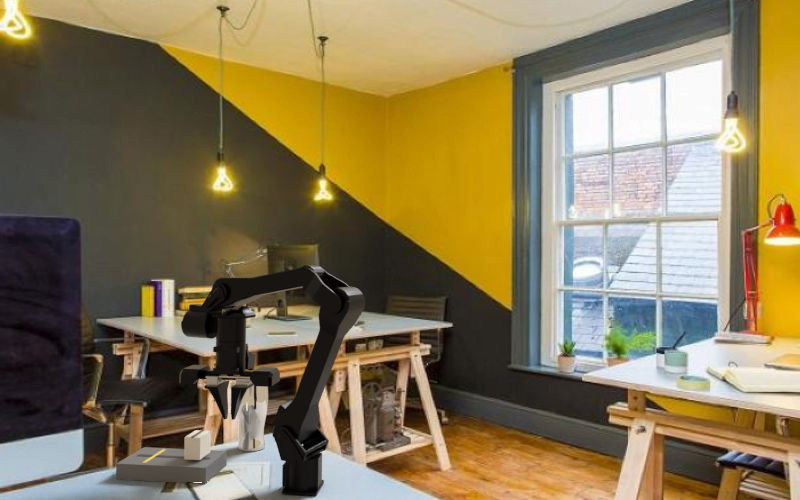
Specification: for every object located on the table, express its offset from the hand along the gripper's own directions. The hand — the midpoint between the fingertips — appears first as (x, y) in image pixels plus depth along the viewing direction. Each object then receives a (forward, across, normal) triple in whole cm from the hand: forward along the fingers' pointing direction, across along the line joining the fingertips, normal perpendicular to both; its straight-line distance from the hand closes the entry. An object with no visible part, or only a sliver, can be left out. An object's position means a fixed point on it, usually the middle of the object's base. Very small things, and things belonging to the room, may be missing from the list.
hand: (229, 419), depth 115 cm
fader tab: (+7, +7, 0) cm, 10 cm away
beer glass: (+11, +1, -17) cm, 20 cm away
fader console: (+11, +12, 0) cm, 16 cm away
